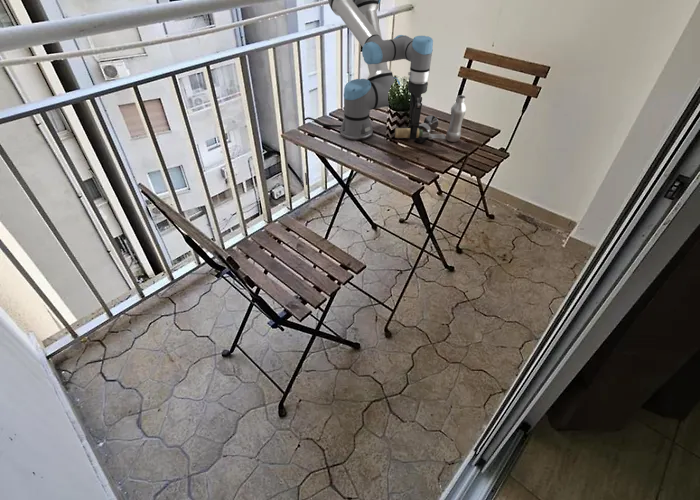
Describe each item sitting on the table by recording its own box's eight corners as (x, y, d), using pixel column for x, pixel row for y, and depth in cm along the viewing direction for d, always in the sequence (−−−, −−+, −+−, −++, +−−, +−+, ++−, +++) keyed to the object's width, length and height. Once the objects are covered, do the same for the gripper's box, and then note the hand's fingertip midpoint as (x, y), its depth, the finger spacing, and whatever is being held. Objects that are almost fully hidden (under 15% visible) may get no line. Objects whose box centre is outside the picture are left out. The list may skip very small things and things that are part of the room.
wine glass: (420, 118, 186) (408, 129, 175) (434, 111, 180) (424, 122, 170) (427, 133, 188) (416, 145, 178) (441, 127, 183) (431, 139, 173)
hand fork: (395, 139, 167) (396, 130, 164) (394, 135, 170) (395, 126, 167) (445, 139, 167) (446, 130, 164) (443, 135, 170) (445, 126, 167)
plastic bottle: (442, 139, 179) (449, 96, 166) (452, 135, 182) (460, 92, 169) (452, 145, 175) (461, 101, 162) (462, 140, 178) (472, 97, 165)
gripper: (406, 73, 159) (401, 128, 174) (411, 88, 146) (405, 146, 162) (424, 73, 159) (417, 128, 174) (431, 88, 146) (423, 145, 162)
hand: (411, 136), depth 168 cm, fingers closed on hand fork, 4 cm apart
